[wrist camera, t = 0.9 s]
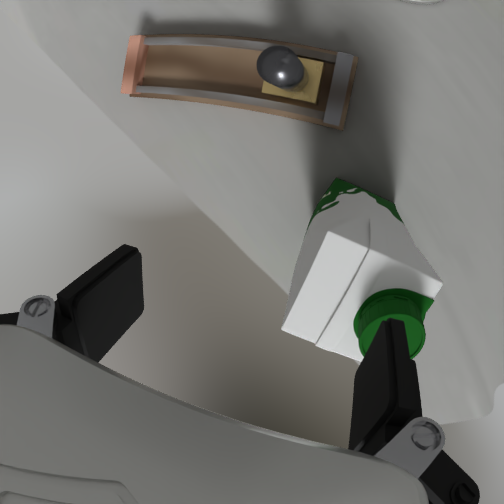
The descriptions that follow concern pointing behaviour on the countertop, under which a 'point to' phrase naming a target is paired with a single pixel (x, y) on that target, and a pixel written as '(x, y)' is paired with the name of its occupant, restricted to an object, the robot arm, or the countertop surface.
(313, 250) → the milk carton
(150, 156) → the countertop surface
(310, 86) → the slider
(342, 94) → the rail base
